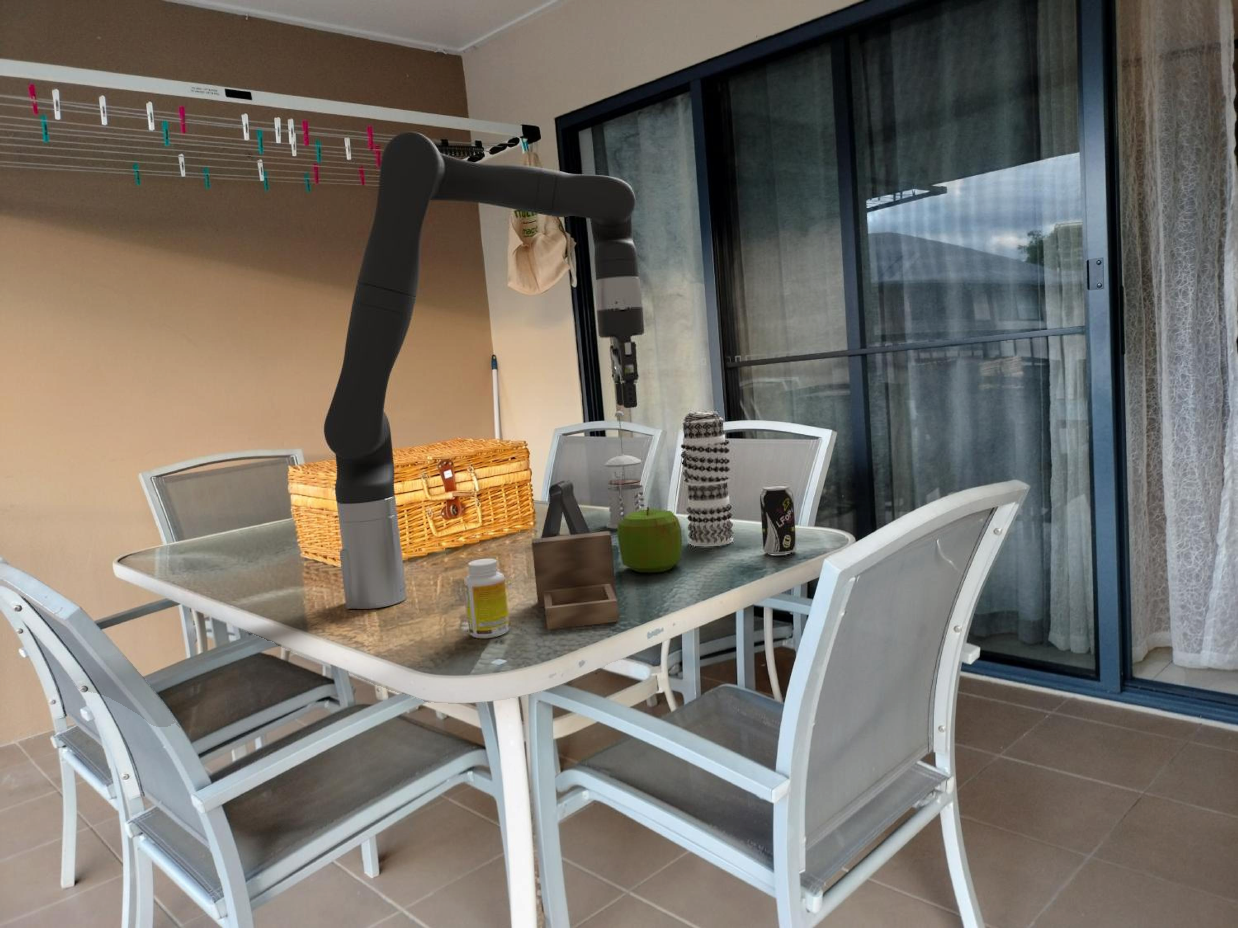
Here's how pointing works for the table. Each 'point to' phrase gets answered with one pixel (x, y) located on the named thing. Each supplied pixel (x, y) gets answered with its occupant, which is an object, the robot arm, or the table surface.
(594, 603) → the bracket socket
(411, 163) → the robot arm
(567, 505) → the phone stand
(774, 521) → the beverage can
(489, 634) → the supplement bottle
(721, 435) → the decorative candle
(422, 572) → the table surface
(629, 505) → the french press
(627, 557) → the apple
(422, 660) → the table surface
